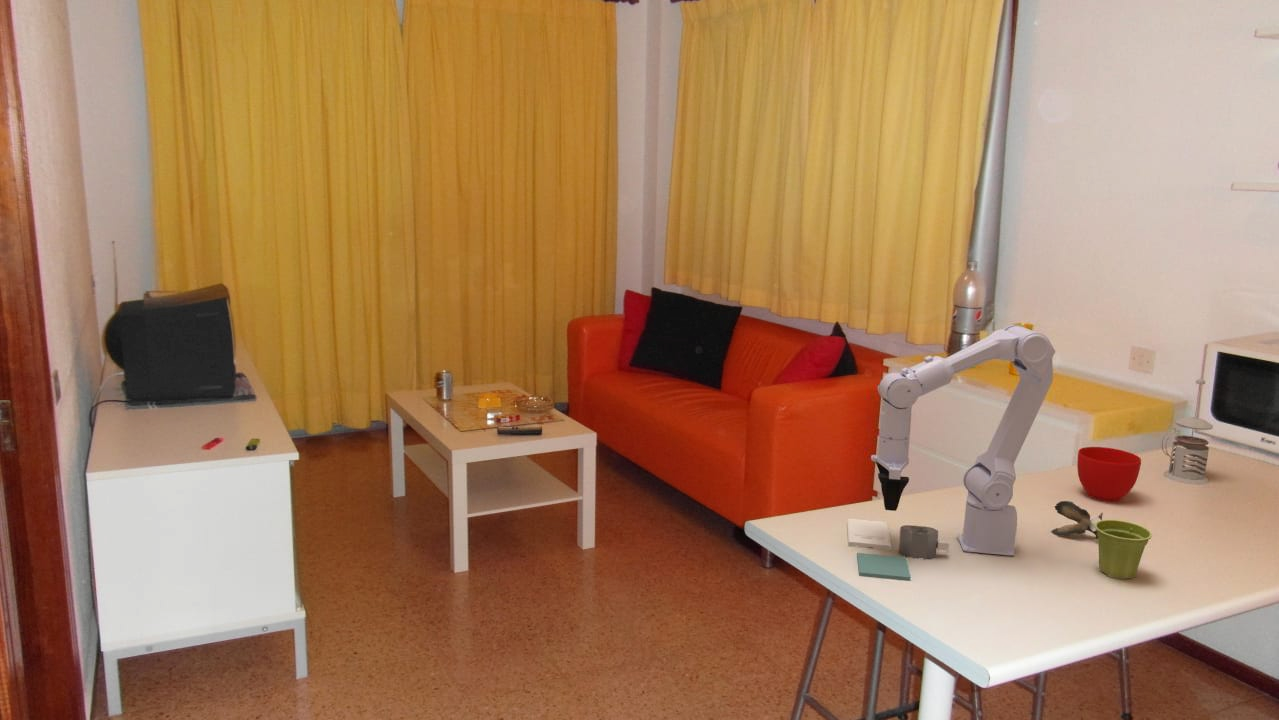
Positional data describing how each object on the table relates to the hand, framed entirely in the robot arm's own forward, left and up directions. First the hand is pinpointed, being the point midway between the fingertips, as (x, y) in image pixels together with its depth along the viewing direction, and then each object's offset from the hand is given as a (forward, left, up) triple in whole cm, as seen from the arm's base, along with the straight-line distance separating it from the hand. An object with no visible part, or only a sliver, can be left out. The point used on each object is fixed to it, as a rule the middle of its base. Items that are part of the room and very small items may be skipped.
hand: (889, 502), depth 180 cm
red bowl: (-53, -43, -9) cm, 69 cm away
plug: (-6, +3, -9) cm, 11 cm away
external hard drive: (+3, -4, -10) cm, 11 cm away
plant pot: (-42, +3, -9) cm, 43 cm away
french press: (-76, -61, -9) cm, 98 cm away
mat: (+1, +11, -9) cm, 14 cm away
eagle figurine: (-39, -15, -9) cm, 43 cm away
